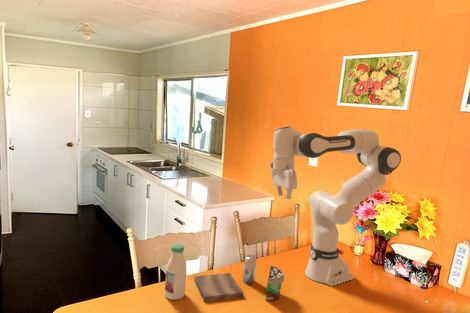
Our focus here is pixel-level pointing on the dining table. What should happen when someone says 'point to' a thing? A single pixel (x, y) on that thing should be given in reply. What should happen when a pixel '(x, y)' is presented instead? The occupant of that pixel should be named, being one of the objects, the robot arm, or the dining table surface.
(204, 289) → the walnut board
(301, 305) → the dining table surface
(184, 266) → the milk bottle
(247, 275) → the silver can
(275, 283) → the food container
